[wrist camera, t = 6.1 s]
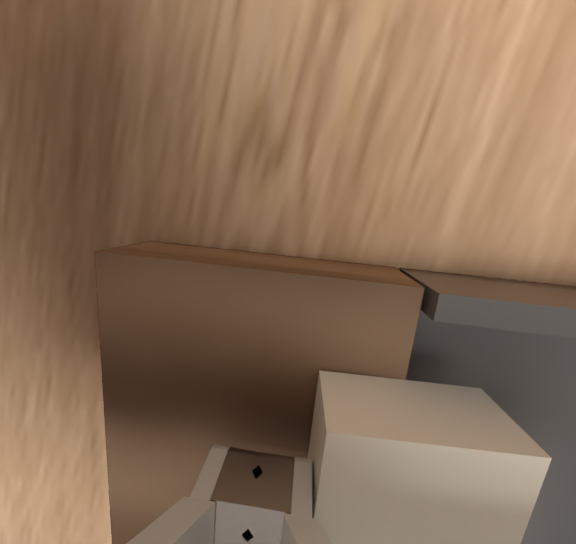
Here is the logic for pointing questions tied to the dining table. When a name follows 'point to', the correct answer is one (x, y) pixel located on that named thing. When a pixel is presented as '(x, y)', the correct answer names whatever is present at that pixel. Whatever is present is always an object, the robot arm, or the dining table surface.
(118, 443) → the board
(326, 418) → the cream tile
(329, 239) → the dining table surface
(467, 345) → the box
